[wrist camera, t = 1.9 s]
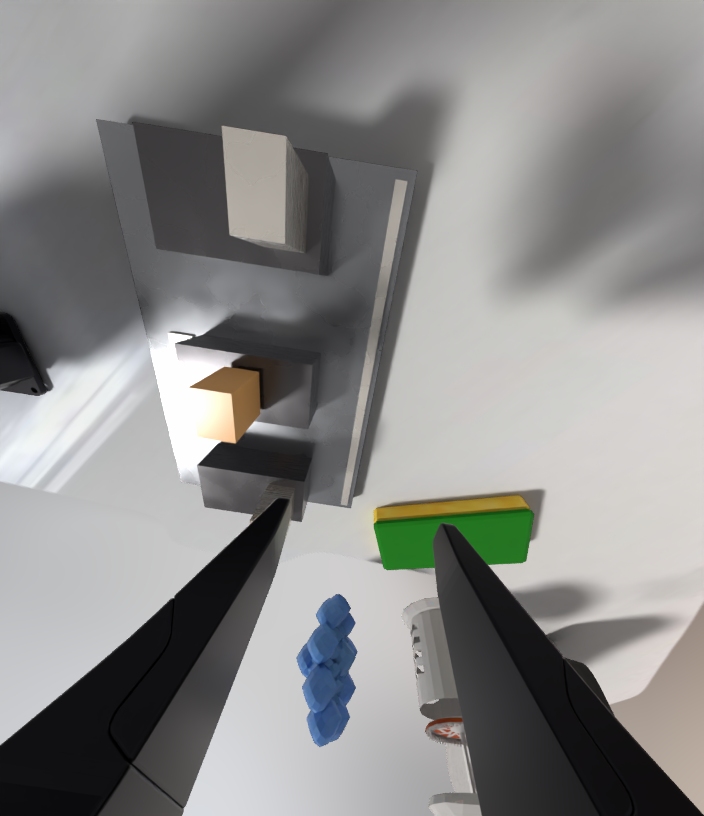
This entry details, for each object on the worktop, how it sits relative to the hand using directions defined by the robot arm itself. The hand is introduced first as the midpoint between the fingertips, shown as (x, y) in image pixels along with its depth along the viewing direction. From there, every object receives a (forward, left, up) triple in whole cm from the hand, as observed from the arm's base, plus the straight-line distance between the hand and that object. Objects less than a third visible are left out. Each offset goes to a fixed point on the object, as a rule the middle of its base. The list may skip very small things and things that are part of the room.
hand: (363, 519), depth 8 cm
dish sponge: (+10, -14, -13) cm, 22 cm away
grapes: (0, -30, -12) cm, 32 cm away
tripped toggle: (-7, 0, -8) cm, 11 cm away
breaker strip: (-8, 0, -12) cm, 14 cm away
